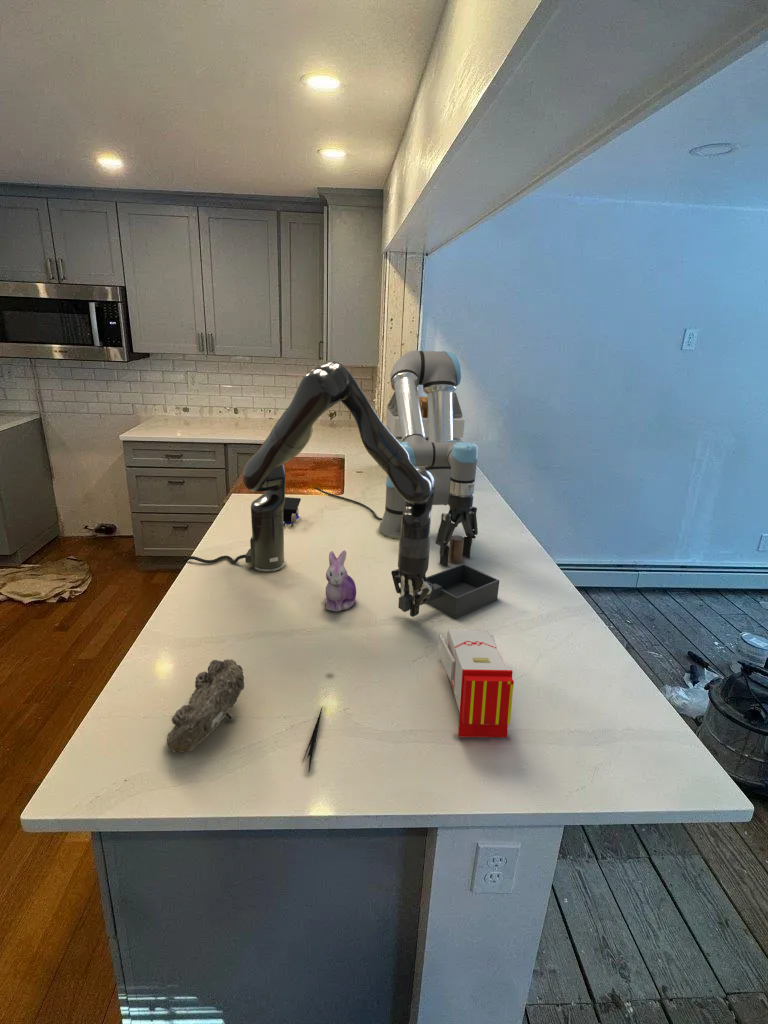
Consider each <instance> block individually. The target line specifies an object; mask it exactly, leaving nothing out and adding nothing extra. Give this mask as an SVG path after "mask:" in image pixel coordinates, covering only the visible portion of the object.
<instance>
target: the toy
mask: <svg viewBox="0 0 768 1024" xmlns="http://www.w3.org/2000/svg"><path fill="white" fill-rule="evenodd" d="M446 640H447V643H446V641H445V639H444V636H443V635H442V634H439V637H438V646H437V656H438V657H439V659H440V661H441V663H442V666H443V668H444V670H445V672H446V674H447V677H448V679H449V681H450V684H451V687H452V690H453V693H454V697H455V701H456V705H457V708H458V711H459V714H458V715H459V716H458V730H457V731H458V732H457V737H458V738H508V731H509V726H510V725H511V717H512V707H513V697H514V696H513V695H514V684H515V680H514V679H513V673H514V671H513V670H512V669H508V667H507V665H506V662H505V661H504V659H503V658H502V655H501V653H500V651H499V649H498V647H497V643H496V639H495V637H494V635H493V634H491V632H490V631H489V629H467V628H466V629H465V628H463V629H461V628H460V629H459V628H448V630H447V639H446Z"/></svg>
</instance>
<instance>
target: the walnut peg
mask: <svg viewBox="0 0 768 1024" xmlns="http://www.w3.org/2000/svg"><path fill="white" fill-rule="evenodd" d="M464 537H465V536H462V535H460V534H459V535H458V534H452V536H451V539H450V541H449V543H448V546H449V556H448V563H451V564H454V565H457V564H458V565H460V564H461V563H462V562H463V555H462V554H463V544H464Z"/></svg>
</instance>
